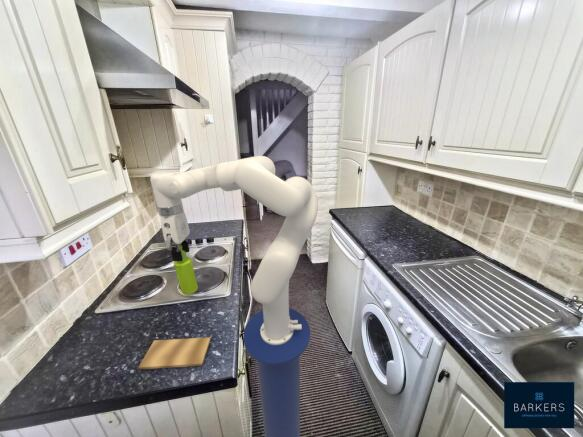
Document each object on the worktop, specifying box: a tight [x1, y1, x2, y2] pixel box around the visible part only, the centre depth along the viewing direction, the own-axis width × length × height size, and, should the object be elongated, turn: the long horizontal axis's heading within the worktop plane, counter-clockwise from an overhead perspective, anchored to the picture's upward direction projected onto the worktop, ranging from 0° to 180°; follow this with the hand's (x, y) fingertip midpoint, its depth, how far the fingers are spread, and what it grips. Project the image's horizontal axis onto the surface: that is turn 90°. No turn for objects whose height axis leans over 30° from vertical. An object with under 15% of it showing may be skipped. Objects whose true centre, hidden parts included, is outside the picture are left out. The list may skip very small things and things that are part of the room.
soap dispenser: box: [173, 241, 199, 296], centre depth 85 cm, size 6×7×20 cm
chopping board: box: [138, 336, 212, 370], centre depth 78 cm, size 20×10×1 cm, turn 93°
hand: (181, 255), depth 84 cm, fingers closed on soap dispenser, 5 cm apart
